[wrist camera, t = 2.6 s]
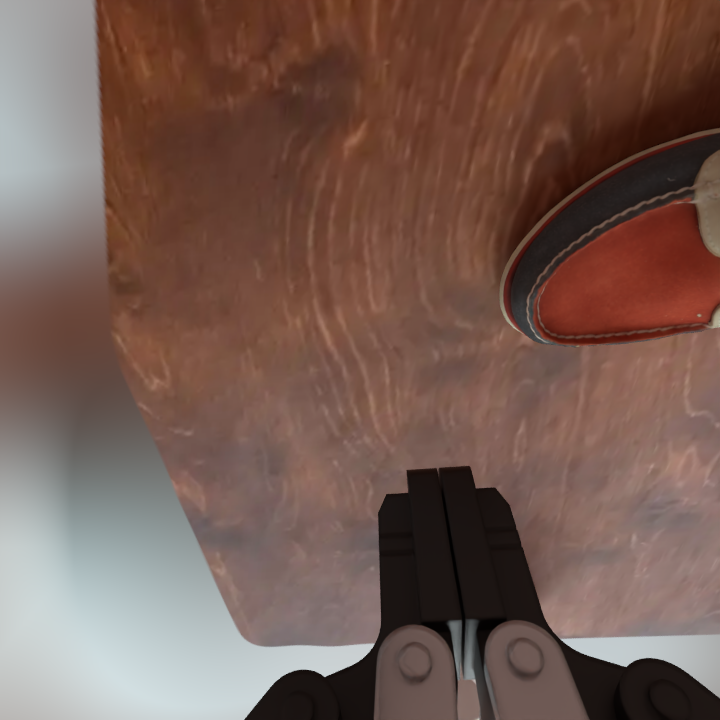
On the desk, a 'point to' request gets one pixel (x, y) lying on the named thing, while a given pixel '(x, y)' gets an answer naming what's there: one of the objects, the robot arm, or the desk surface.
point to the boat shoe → (625, 253)
